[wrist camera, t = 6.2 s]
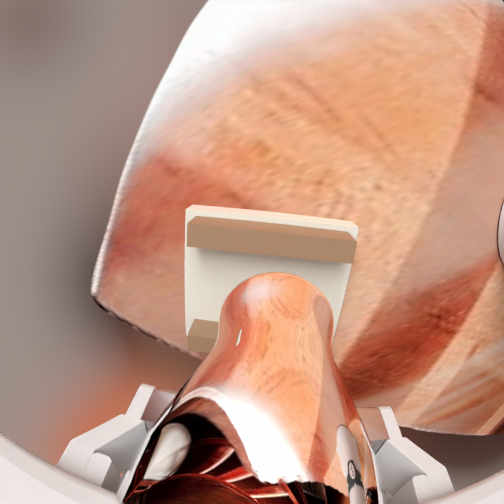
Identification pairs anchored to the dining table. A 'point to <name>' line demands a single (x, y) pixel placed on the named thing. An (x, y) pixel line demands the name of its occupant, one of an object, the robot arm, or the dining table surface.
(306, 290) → the beer glass
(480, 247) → the dining table surface
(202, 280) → the stand
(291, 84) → the dining table surface
